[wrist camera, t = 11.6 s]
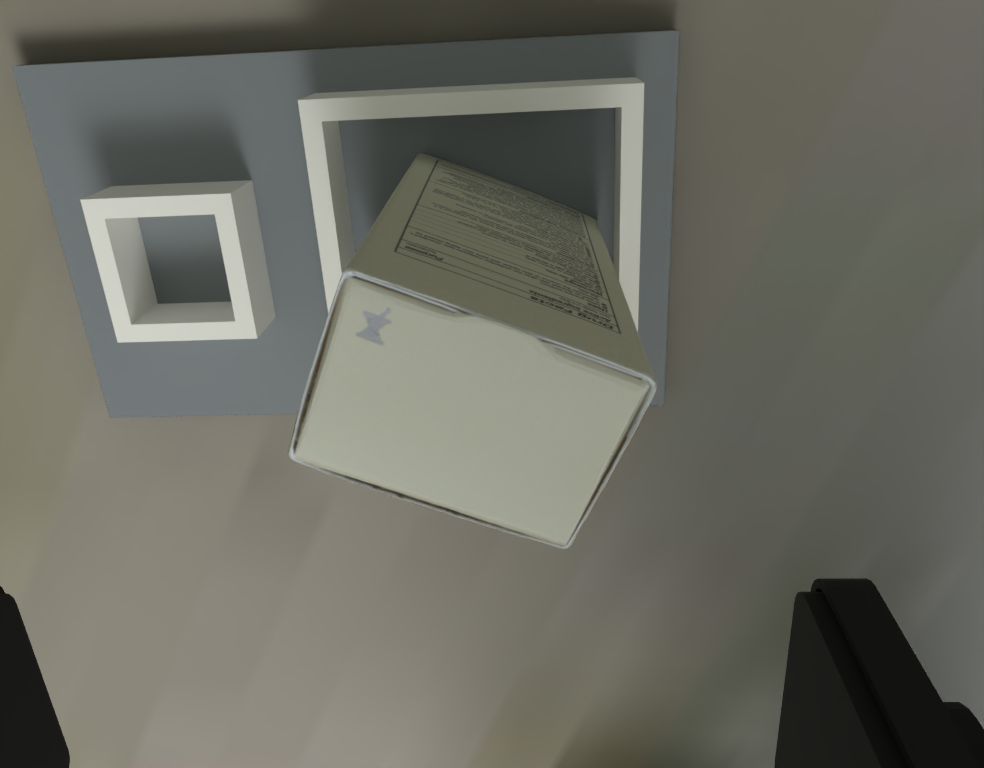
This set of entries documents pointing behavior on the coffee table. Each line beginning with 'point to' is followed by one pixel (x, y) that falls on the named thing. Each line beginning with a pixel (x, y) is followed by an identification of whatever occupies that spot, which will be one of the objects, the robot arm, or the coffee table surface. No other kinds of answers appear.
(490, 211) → the skincare box
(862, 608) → the robot arm
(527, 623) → the coffee table surface
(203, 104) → the socket plate
